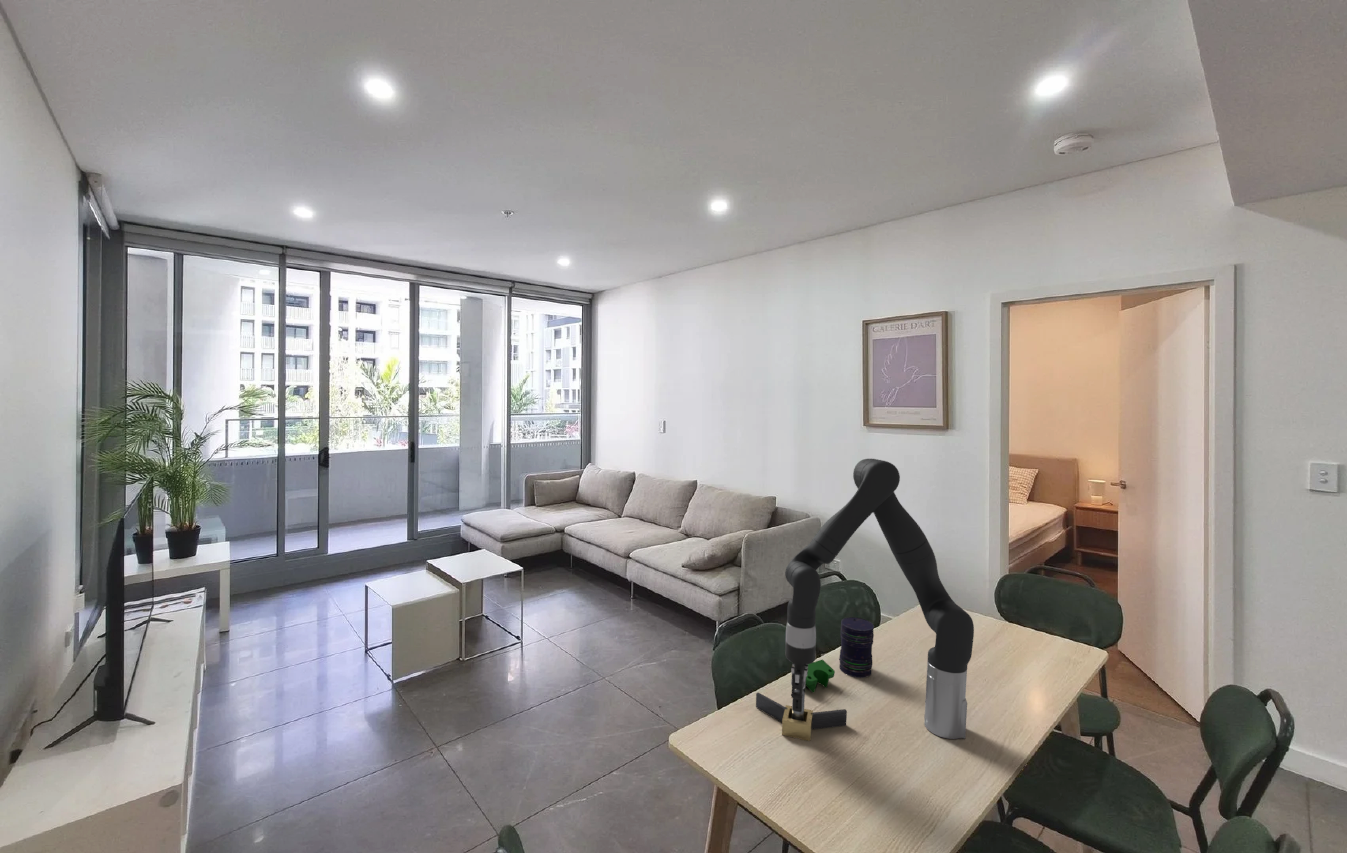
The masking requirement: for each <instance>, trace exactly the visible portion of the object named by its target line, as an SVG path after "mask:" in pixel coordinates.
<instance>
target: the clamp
mask: <svg viewBox="0 0 1347 853" xmlns="http://www.w3.org/2000/svg"><path fill="white" fill-rule="evenodd" d="M835 673H836V671H835V669H833V667H832V666H831V665H829V664H828V663H827V662H826V661H825V660H824V659H820V660H815V661H814V662H813V663H811V664H808V674H807V677H806V685H805V687H807V688H808V689H809V691H811V693H815V691H816V687H817V684H819V685H821V686H822V687H824V688H825V689H827V687H828V684H829V681H830V680H831V679H833V678H834V676H835Z"/></svg>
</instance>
